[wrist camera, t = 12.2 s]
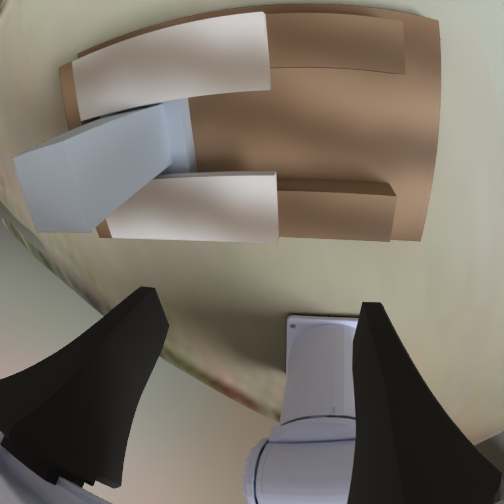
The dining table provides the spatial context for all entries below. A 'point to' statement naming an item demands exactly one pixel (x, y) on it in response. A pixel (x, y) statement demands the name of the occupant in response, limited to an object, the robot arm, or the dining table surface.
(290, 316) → the robot arm
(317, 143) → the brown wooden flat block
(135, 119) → the t stud
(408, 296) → the dining table surface
